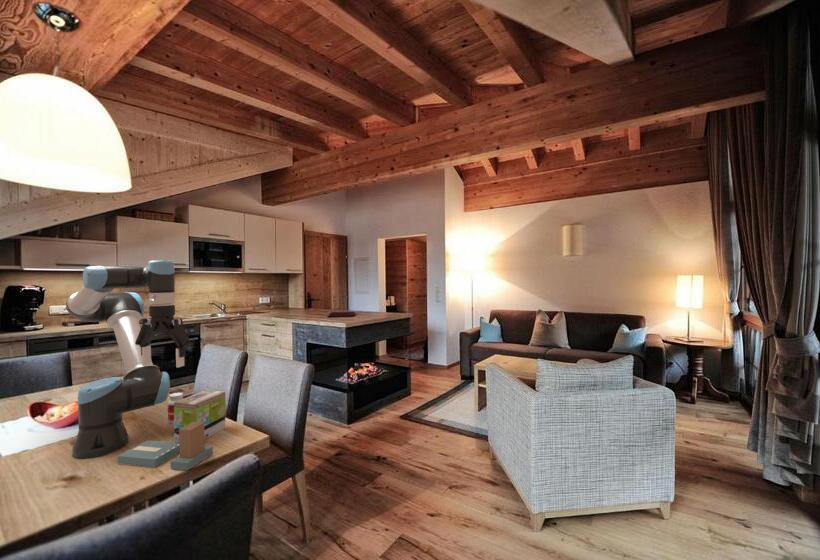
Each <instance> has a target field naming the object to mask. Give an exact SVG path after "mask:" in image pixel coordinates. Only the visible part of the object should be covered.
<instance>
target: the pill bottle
mask: <svg viewBox="0 0 820 560" xmlns="http://www.w3.org/2000/svg"><path fill="white" fill-rule="evenodd" d="M168 397H169V400H168V401H167V422H168V423H169V424H174V402H177V401H179V400H182V399H184V398H185V397H184V392H174V393H171V394H169V396H168Z"/></svg>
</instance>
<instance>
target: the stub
mask: <svg viewBox="0 0 820 560" xmlns="http://www.w3.org/2000/svg"><path fill="white" fill-rule="evenodd" d="M205 440H206V439H205V438H204V423H203V422H192V423H190V424H188V425H186V426H185V427H183V428H181V429H179V448H180V453H179V455H178V456H176V457H175V458H173V459H172V460H170V463H169V464H170V469H172V470H178V471H179V470H181V471H189V470H190V469H192V468H193V467H195V466H196V465H198V464H199V463H200V462H202V461H203V460H205V459H206V458H208V457H209V456H211V455H213V454H214V448H213V447H214V446H213V445H206V443H205Z"/></svg>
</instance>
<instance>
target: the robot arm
mask: <svg viewBox="0 0 820 560" xmlns="http://www.w3.org/2000/svg"><path fill="white" fill-rule="evenodd" d="M174 263H175V262H174V261H172V260H158V259H157V260H156V259H155V260H149V261H148V263H147V266H123V265H122V266H118V265H116V266H112V265H110V266H109V265H93V266H91V265H90V266H86V267H84V268H83V271H82V284H83V285H82V287H80V289H79V290H78V291H77V292H75V293H72V294H71V295H70V296H69V297H68V299H67V301H66V303H65V308H66V310H67V312H68V314H69V315H70V316H72V317H73V318H74V319H77V320H80V321H82V322H86V323H87V322H89V323H90V322H91V323H97V322H98V323H100V322H106V324H107V326H108V327H109V328H111V329H113V332H114V335H115V339H116V343H117V346H118V348H119V349H118V350H119V352H120V356H121V358H122V359H121V360H122V363H123V365H124V369H125V373H126V374H125V375H124V376H123V378H121V377H120V376H112V377H105V378H100V379H97V380H94V381H91V382H88V383H86V384H85V385H83V386H81V387H80V389H79V390H78V392H77V393H78V395H77V402H76V403H77V409H78V410H77V411H78V417H77V418H78V431H77V434H76V436H75V440H74V443H73V445H72V448H71V449H72V452H71V453H72V457H74V458H76V459H87V458H89V459H90V458H95V457H101V456H104V455H108V454H111V453H113V452H117V451H119V450H121V449H123V448H124V447H126V446H127V445H129V442H130V441H129V440H130V435H129V433H128V432H127V431H128V430H127V429H126V427H125V425H124V423H123V414H124V413H128V412H132V411H136V410H139V409H144V408H147V407H154V406H156V405H159V404H162V403H164V402H166V400H168V397H169V396H170V387H171V380H170V375H169V373H168V372H167V371H160V367H159V366H158V365H155V364H154V363H153V361H152V347H151V346H152V345H150V344H151V342H152V341H153V339H154V338H155V336H156V335H157V334H158V333H160V332H161V333H166V334H168V336H169V337H170V339H171V340H172V341H173V342H174V344H175V345H176V346H177V347H176V348H175V363H176V364H175V367H176V368H181V367H185V357H186V351H187V350H186V348H187V347H188V346H191V345H192V342H191V340H190V338H189V335H188V333H187V330H186V329H185V326H184V324H183V318H176V319H175V317H174V316H175V315H176V305H175V303H176V296H175V295H176V294H175V293H176V291H175V289H176V287H175V286H176V285H175V284H176V283H175V280H176V279H175V278H176V277H175V274H176V272H175V271H176V270H175V264H174ZM133 288H134V289H137V288H139V289H140V288H141V289H143V288H148V304H149V307H148V315H149V317H148V318H143V319H142V317H143V316H144V314H145V306H144V301H143V298H142V297H141V295H139V294H138V293H137V292H133V291H132V292H131V291H122V292H112V291H113V290H114V289H133ZM141 319H142V325H140V321H141Z"/></svg>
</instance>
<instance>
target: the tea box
mask: <svg viewBox="0 0 820 560" xmlns="http://www.w3.org/2000/svg"><path fill="white" fill-rule="evenodd" d="M183 398H184V399H182V400H179V401H177V402H174V423H173V443H179V429H181V428H183V427H185V426H186V425H188V424H190V423H192V422H203V423H204V438H205V440H206V439H208V438H210V437H211V436H213V435H215V434H217V433H219V432H220V431H222V430H224V429H225V428H226V391H222V390H221V391H218V390H217V391H216V390H208V389H207V390H202V391H199V392H197V393H195V394H192V395H189V396H187V397H183Z"/></svg>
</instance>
